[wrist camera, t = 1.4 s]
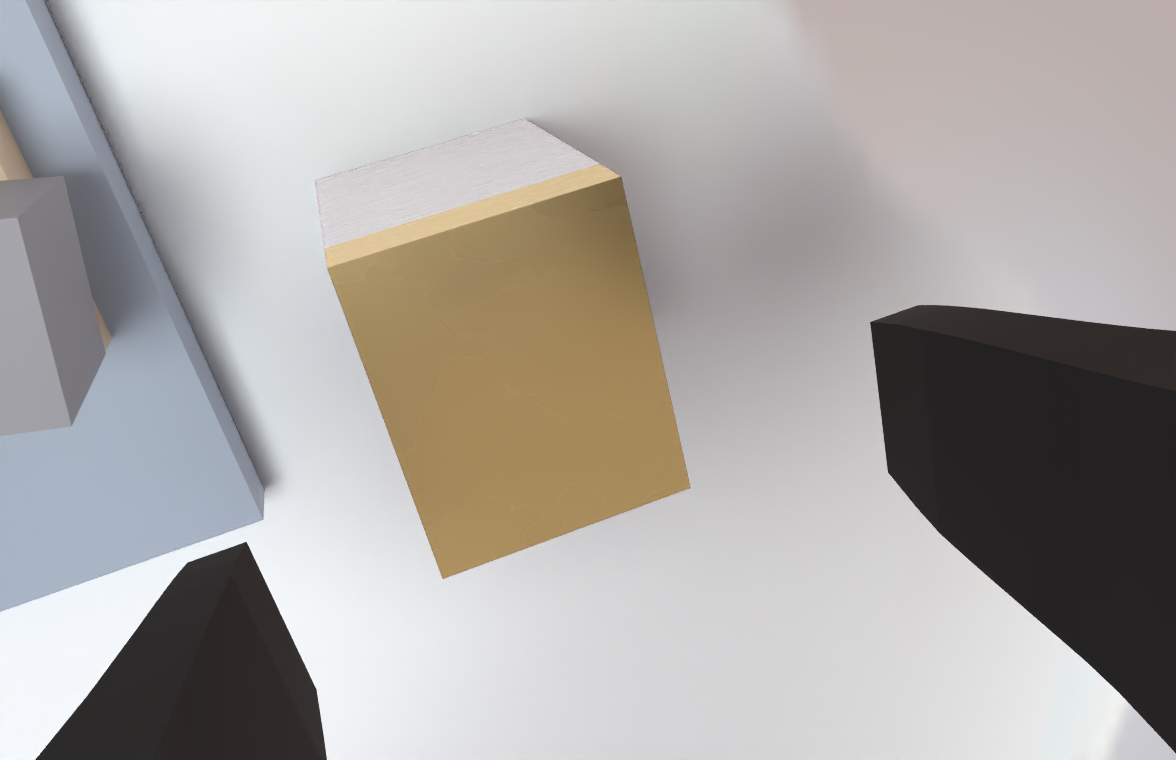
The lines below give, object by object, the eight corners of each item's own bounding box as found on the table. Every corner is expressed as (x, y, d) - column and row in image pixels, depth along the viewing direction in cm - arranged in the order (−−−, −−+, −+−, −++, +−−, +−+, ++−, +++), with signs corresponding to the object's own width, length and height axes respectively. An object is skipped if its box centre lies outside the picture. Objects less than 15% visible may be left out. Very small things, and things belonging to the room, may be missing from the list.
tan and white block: (585, 355, 21) (690, 487, 15) (400, 417, 20) (443, 578, 15) (524, 118, 18) (621, 176, 13) (314, 180, 18) (327, 267, 12)
